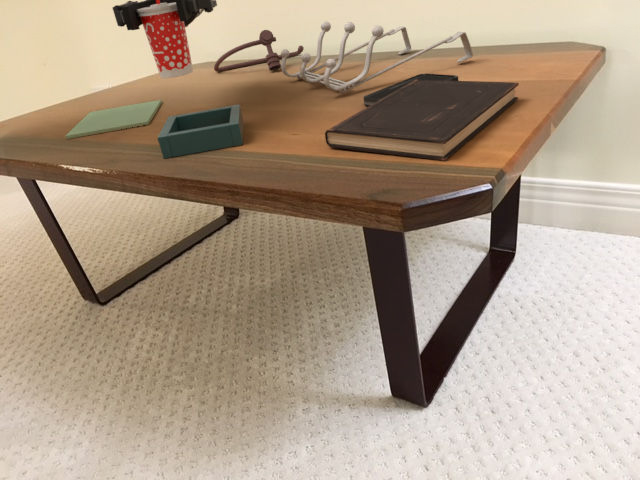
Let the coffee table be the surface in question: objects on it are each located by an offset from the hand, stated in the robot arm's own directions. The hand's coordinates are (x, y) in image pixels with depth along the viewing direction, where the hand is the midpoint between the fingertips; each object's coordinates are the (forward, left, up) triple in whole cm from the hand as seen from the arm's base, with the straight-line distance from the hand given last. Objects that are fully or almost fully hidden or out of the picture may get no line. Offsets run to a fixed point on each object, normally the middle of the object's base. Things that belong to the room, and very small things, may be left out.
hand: (154, 14), depth 68 cm
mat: (-16, +26, -18) cm, 35 cm away
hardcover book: (+32, -7, -18) cm, 37 cm away
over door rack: (+32, +28, -18) cm, 46 cm away
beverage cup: (0, +5, -9) cm, 10 cm away
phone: (+34, +8, -18) cm, 39 cm away
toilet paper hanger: (+12, +52, -18) cm, 56 cm away
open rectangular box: (+2, +3, -18) cm, 18 cm away
